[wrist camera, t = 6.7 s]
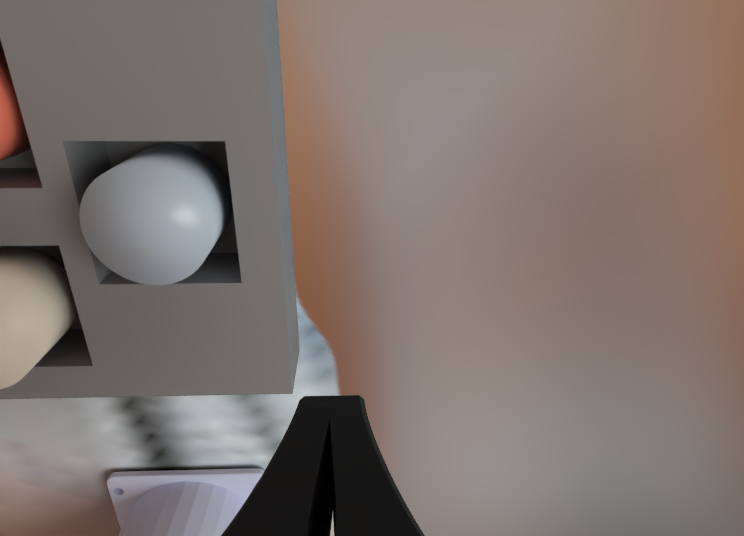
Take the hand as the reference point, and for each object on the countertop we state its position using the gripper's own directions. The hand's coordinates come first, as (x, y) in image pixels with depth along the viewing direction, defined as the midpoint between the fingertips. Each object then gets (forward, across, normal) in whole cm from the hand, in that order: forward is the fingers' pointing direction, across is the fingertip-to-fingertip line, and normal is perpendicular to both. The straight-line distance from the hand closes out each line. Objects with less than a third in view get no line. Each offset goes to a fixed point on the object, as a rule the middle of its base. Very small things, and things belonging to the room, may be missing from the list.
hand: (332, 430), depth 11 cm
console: (+10, +9, -2) cm, 14 cm away
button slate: (+9, +6, -2) cm, 12 cm away
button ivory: (+9, +12, +1) cm, 15 cm away
